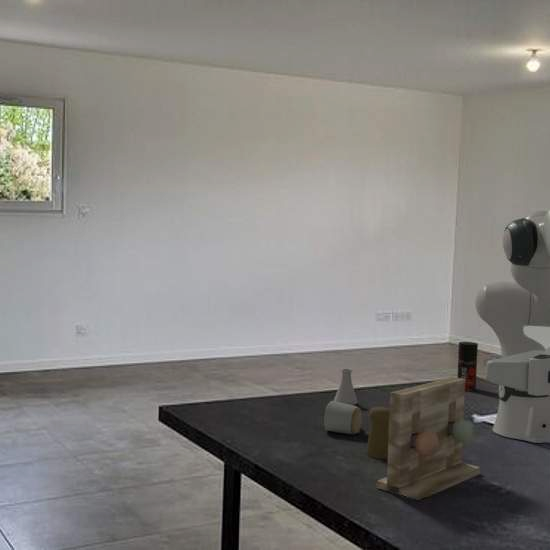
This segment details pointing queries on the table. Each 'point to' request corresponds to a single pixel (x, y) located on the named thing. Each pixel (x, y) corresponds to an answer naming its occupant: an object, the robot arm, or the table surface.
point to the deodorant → (468, 364)
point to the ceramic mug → (342, 418)
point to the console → (432, 418)
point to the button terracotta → (425, 442)
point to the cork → (378, 433)
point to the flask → (346, 389)
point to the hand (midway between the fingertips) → (487, 360)
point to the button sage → (461, 430)
